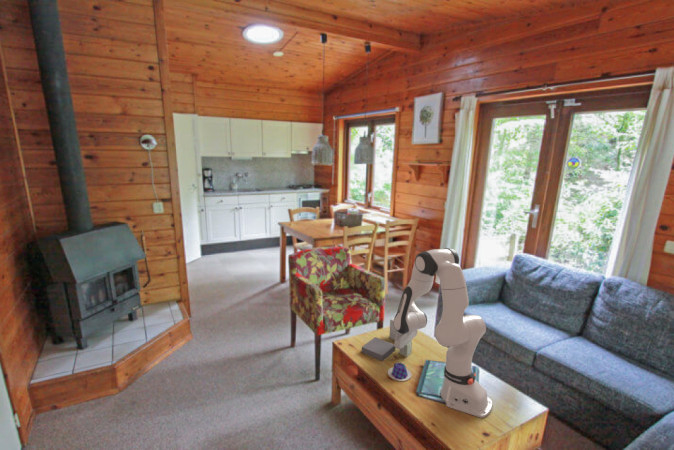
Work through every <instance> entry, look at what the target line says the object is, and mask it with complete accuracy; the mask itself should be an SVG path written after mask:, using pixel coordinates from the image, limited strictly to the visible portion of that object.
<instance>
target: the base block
mask: <svg viewBox="0 0 674 450" xmlns="http://www.w3.org/2000/svg"><path fill="white" fill-rule="evenodd" d="M394 344H395V343H392V342H389V341H386V340H383V339H381V338H378V337H376V336H375V337H373V338H372V339H370V340H368V342H367V343H365V344H364V345H362V346H361V353H362V354H363V355H366V356H369V357H371V358H373V359H376V360H379V361H380V362H384V361H385V360H386V359H387V358H388V357H390V356H391V355H392V354H394V352H395V351H396V348H395V346H394Z"/></svg>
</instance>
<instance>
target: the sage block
mask: <svg viewBox="0 0 674 450" xmlns="http://www.w3.org/2000/svg"><path fill="white" fill-rule="evenodd" d="M412 346H413V342H412V341H410V342H408V343H407V344H406V345H405V346H404V349H405V351H404V352H401V349H399V351H398V352H399V354H400V355H402V356H405V357H407V358H408V357H409V356H410V355H411V354H412V349H413V348H412Z"/></svg>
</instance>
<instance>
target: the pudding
mask: <svg viewBox="0 0 674 450" xmlns="http://www.w3.org/2000/svg"><path fill="white" fill-rule="evenodd" d="M387 374H388V376H389V378H391V379H393V380H394V381H397V382H398V381H399V382H405V381H408V380H410V379H411V378H412V372H411V371H410V370H409V369H408V368H407V367H406V365H405V364H404V363H402V362H396V363H394V365H393V366H392V367H391V368H389V369H388V370H387Z"/></svg>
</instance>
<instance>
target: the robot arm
mask: <svg viewBox="0 0 674 450" xmlns="http://www.w3.org/2000/svg"><path fill="white" fill-rule="evenodd" d="M459 262H460V257H459V253H458V252H457V251H456V250H455V249H453V248H450V247H448V248H447V247H445V248H437V249H436V248H433V249H429V250H426V251H422V252H419V253H417V254H416V256H415V258H414V263H413V268H412V272H411V276H410V280H409V282H408V284H407V286H405V288H404V290H403V291H402V295H401V298H400V301H399V303H398V308H397V311H396V314H395V316H394V317H393V318H394V321H393V325H394V328H395V329H396V331H398V334H397V335H396V337H395V340H394V343H393V344H394V346H395V349H397V350H400V349H401V352H404V351H405V349H404V346H405V345H406V344H407V343H408V342H410V341H411V342H412V341H413V339H414V338H416V336H417V335H418V330H421V329H423V328H426V326H427V324H428V317H427V314H426V313H425V312H424V311H422V310H421V309H420V308H419V307H418V306H417V304H416V302H415V300H417V299H419V298H420V297H422V296H424V295H426V294H427V293H429V292H430V291H431V289H432V287H433V285H434V279H435V275H436V276H437V277H438V279H439V285H440V290H441V298H442V313H441V317H440V320H439V322H438V324H437V325H436V327H435V329H434V336H435V339H436V341H437V342H438V344H439V345H441V347H444V348H448V349H446V354H445V365H444V369H443V377H444V378H443V383H442V388H441V389H440V392H441V394H440V397H441V398H442V400H443V401H444V402H445V405H446V407H448V408H449V409H454V410H456V411H458V412H461V413H465V414H469V415H472V416H475V417H478V418H485V417H487V416H488V415H490V413H491V411H492V409H493V401H492V399H491V398H489V397H488V393H487V389H485V387H483V386H482V385H481V383H480V382H478V381H477V380H476V376H477V372H474V373H473V371H472V363H473V362H472V361H473V356H474V353H475V351H476V348H477V346H478V345H479V342H480V341H481V338H482V337H484V335H485V334H486V331H487V327H486V326H487V325H486V322H485V320H484V318H482V316H479V314H478V315H477V314H466V315H464V314H465V311H466V309H467V308H468V307H469V304H470V300H469V293H468V287H467V283H466V277H465V274H464V272H463V269H462V267H461V265H460V264H459Z"/></svg>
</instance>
